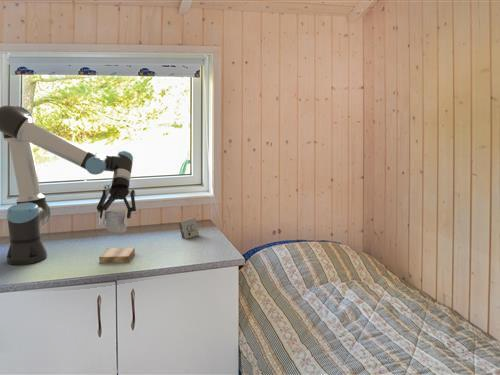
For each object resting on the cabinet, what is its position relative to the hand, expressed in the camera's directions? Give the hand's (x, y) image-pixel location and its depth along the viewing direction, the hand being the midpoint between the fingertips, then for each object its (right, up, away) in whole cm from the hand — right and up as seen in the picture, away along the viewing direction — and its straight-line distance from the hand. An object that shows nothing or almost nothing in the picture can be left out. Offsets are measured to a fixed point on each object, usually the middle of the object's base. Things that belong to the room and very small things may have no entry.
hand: (113, 224), depth 173 cm
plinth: (0, -15, +6) cm, 16 cm away
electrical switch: (+26, -10, +38) cm, 47 cm away
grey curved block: (0, -3, +4) cm, 5 cm away
